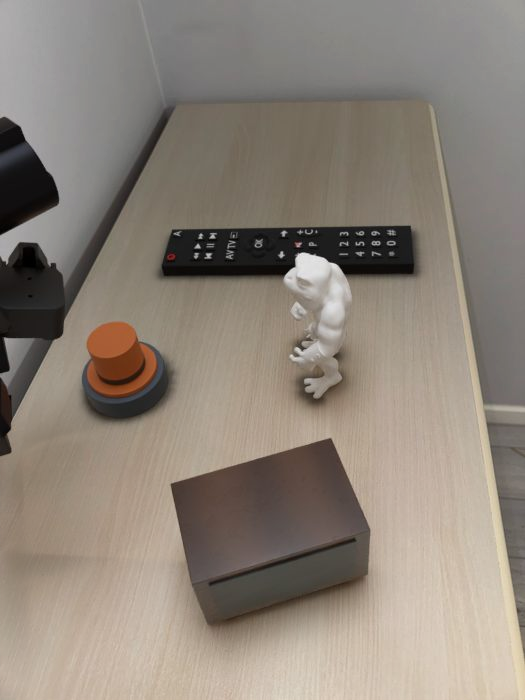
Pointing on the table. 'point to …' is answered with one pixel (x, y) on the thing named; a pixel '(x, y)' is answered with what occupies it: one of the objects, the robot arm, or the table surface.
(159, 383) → the stand
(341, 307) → the figurine
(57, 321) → the robot arm
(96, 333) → the orange top hat
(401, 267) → the remote control
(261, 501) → the brown lidded box
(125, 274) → the table surface
